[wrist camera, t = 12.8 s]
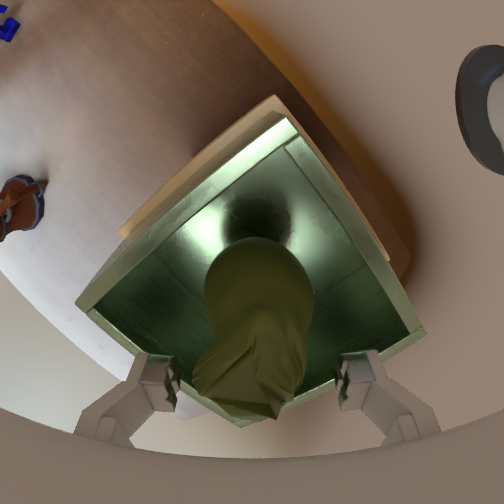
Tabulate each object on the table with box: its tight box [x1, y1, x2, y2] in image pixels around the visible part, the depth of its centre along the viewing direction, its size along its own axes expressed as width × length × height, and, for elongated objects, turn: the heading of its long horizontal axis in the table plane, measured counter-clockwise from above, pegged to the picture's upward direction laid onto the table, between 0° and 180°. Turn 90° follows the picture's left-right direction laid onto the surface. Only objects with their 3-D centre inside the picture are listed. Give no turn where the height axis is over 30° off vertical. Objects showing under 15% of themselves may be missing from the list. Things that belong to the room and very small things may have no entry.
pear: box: [192, 237, 314, 422], centre depth 14 cm, size 6×5×10 cm
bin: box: [75, 94, 427, 428], centre depth 30 cm, size 14×14×36 cm
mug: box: [0, 176, 48, 242], centre depth 41 cm, size 18×12×15 cm, turn 114°
